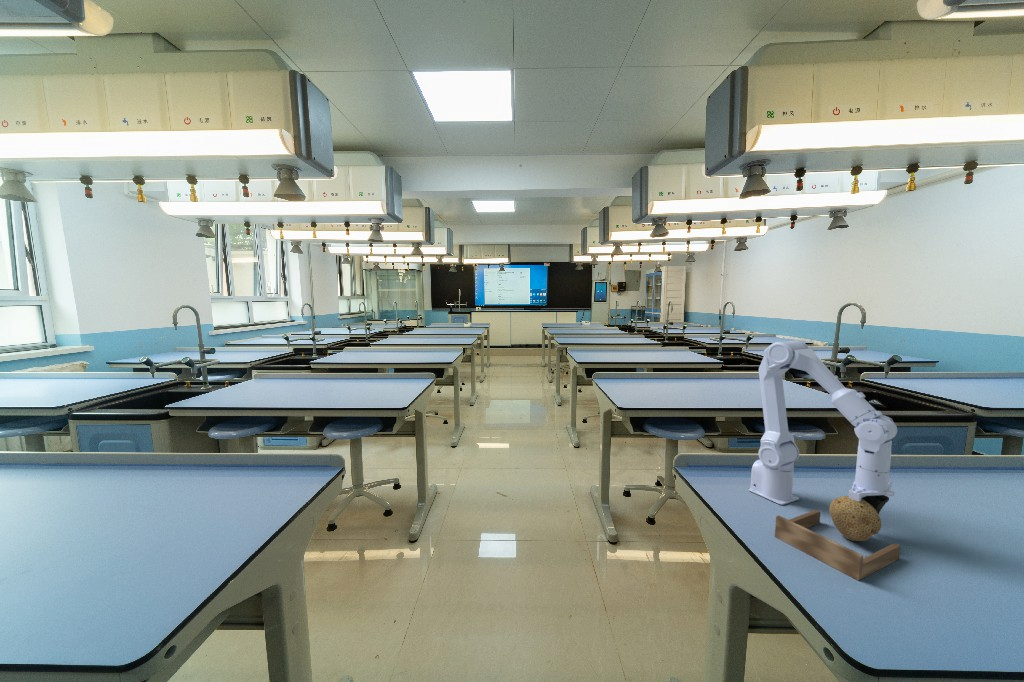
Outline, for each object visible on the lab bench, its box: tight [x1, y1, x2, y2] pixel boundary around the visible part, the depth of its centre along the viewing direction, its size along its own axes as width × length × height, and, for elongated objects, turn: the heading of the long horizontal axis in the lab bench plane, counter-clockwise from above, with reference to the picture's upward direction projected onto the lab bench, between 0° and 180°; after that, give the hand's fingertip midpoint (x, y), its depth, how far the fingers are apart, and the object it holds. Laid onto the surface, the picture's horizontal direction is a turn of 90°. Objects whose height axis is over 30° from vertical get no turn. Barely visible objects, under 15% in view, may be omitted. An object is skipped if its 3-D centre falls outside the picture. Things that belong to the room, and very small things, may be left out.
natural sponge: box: [828, 495, 882, 542], centre depth 90 cm, size 9×9×10 cm
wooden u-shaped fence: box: [774, 509, 901, 582], centre depth 87 cm, size 16×16×5 cm
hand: (867, 523), depth 93 cm, fingers closed
